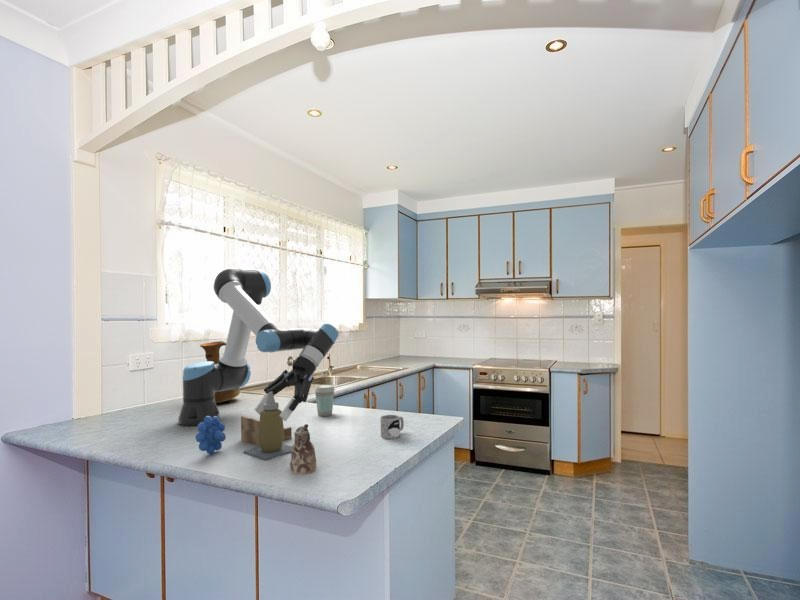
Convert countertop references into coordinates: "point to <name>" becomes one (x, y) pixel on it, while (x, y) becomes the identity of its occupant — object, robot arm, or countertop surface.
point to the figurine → (302, 452)
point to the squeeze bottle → (271, 426)
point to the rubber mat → (268, 455)
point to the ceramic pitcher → (213, 356)
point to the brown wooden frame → (256, 430)
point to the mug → (391, 426)
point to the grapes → (210, 434)
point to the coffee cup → (324, 399)
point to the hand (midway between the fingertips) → (269, 415)
